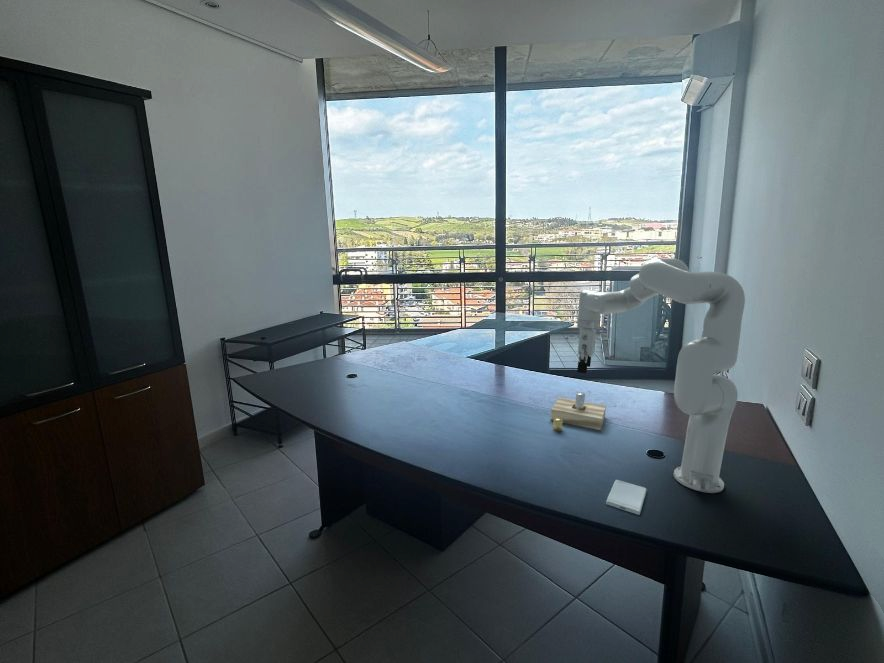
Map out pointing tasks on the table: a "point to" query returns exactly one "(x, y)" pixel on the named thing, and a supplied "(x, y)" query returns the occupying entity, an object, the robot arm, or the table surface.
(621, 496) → the hard drive
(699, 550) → the table surface
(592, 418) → the block
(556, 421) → the short brass pin
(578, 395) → the tall steel pin
